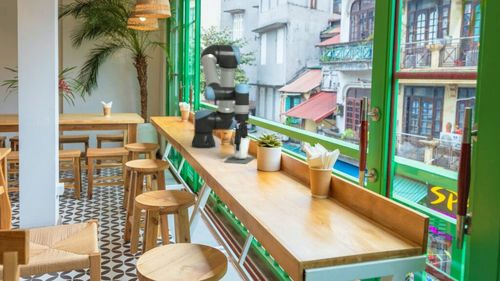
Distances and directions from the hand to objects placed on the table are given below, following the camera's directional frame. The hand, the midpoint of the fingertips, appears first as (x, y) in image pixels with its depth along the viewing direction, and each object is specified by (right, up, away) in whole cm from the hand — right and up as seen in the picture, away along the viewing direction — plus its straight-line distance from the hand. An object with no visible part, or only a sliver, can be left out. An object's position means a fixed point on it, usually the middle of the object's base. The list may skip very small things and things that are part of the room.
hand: (241, 154), depth 245 cm
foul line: (-7, -2, +3) cm, 9 cm away
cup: (0, -2, 0) cm, 2 cm away
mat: (-1, -3, 0) cm, 3 cm away
